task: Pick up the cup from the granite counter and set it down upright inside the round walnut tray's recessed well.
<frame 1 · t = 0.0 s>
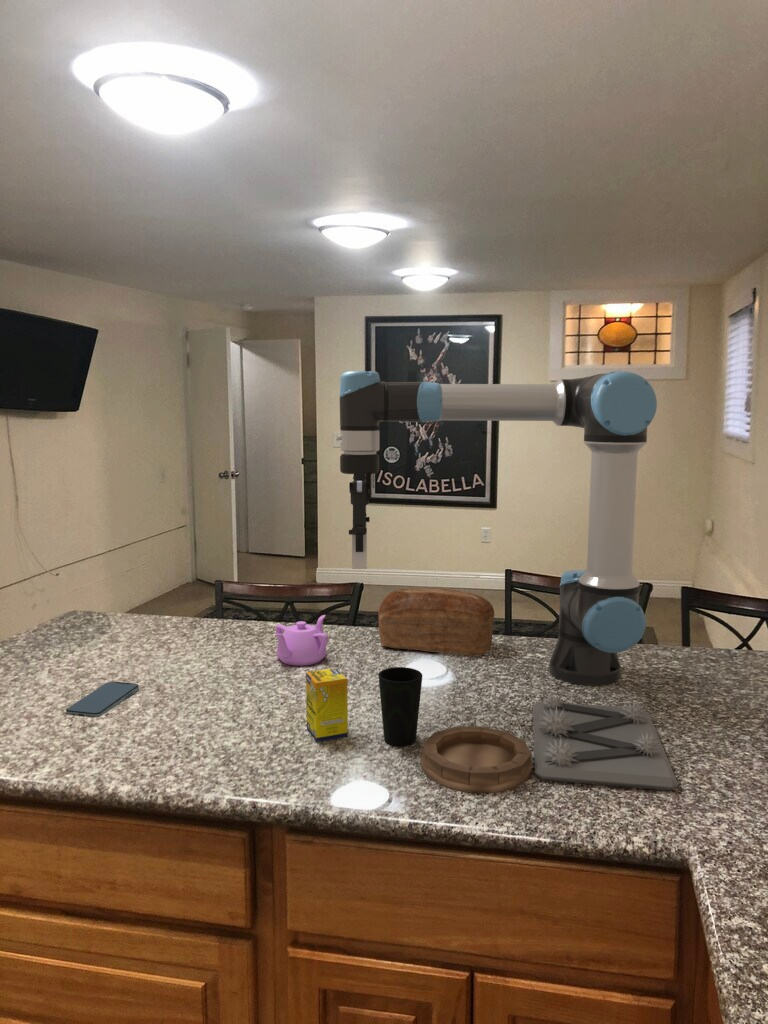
hand: (359, 561, 152), 28 cm above the worktop, fingers open, 13 cm apart
teapot: (301, 660, 179), on the worktop
grey board with spikes: (596, 749, 134), on the worktop
bread: (435, 649, 188), on the worktop
smartphone: (104, 704, 154), on the worktop
cup: (399, 740, 136), on the worktop
round tray: (475, 765, 126), on the worktop
supplement box: (326, 734, 139), on the worktop
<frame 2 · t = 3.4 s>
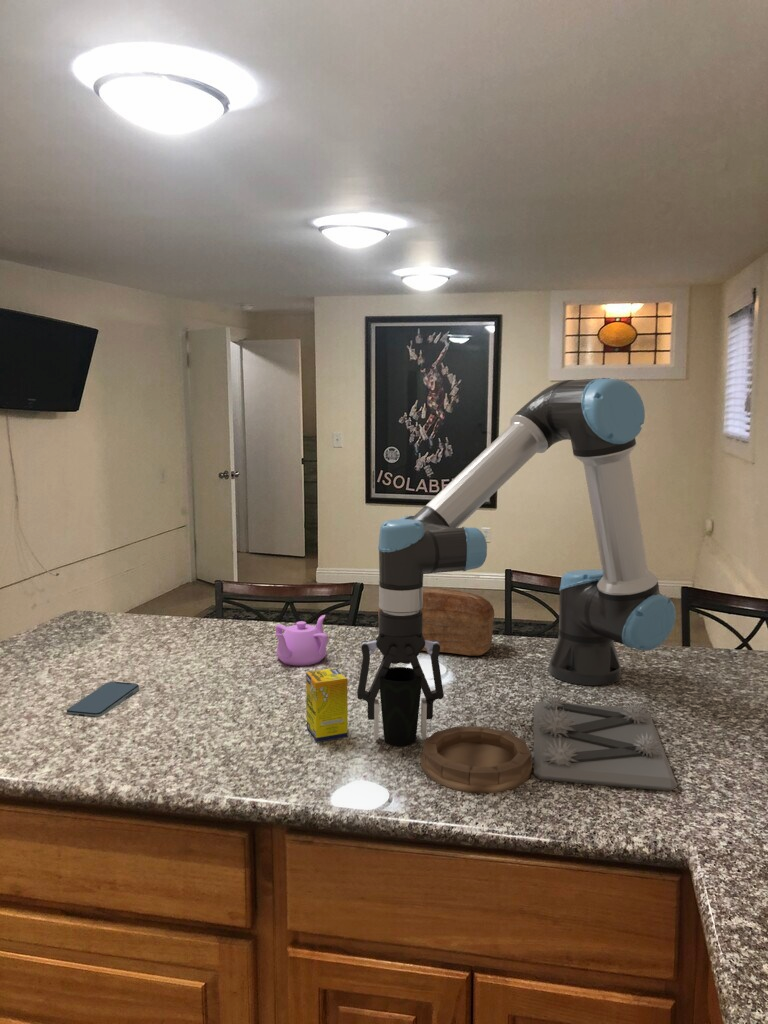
hand: (400, 736, 136), 1 cm above the worktop, fingers closed on cup, 8 cm apart
cup: (399, 740, 136), on the worktop, touching gripper
everything else where it was.
when the fingers open (3 cm above the worktop, at t = 8.4 s): cup drops 1 cm, resting on round tray.
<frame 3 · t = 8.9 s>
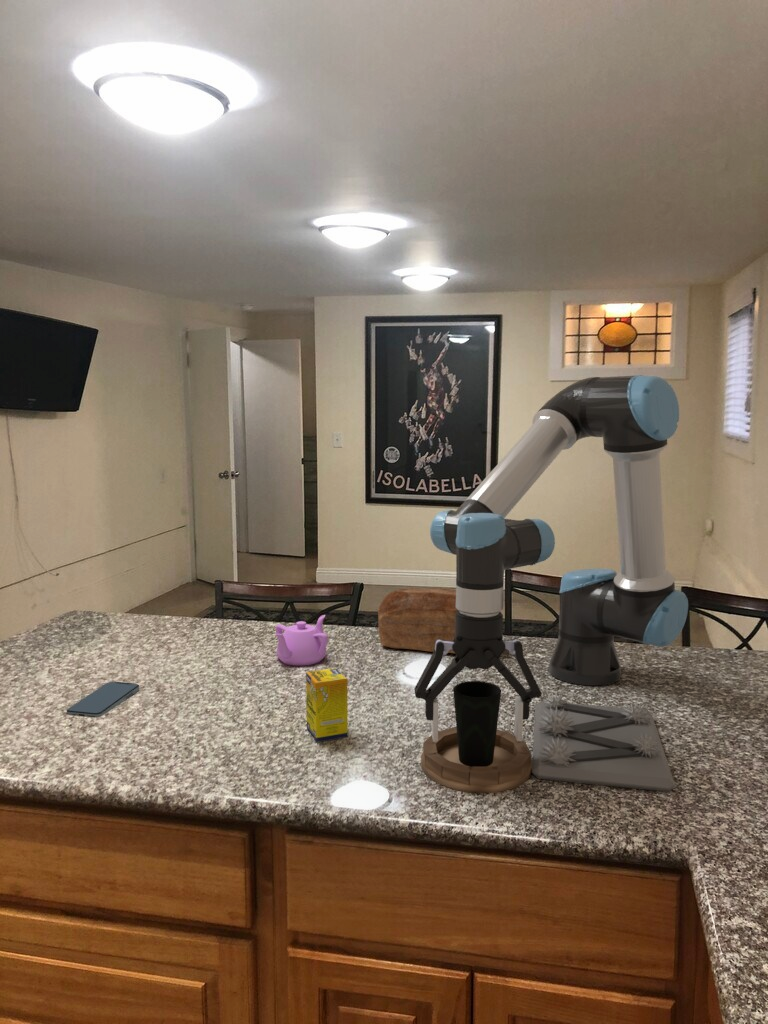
hand: (476, 738, 126), 5 cm above the worktop, fingers open, 13 cm apart
cup: (476, 760, 126), point 1 cm above the worktop, touching round tray
everything else where it was.
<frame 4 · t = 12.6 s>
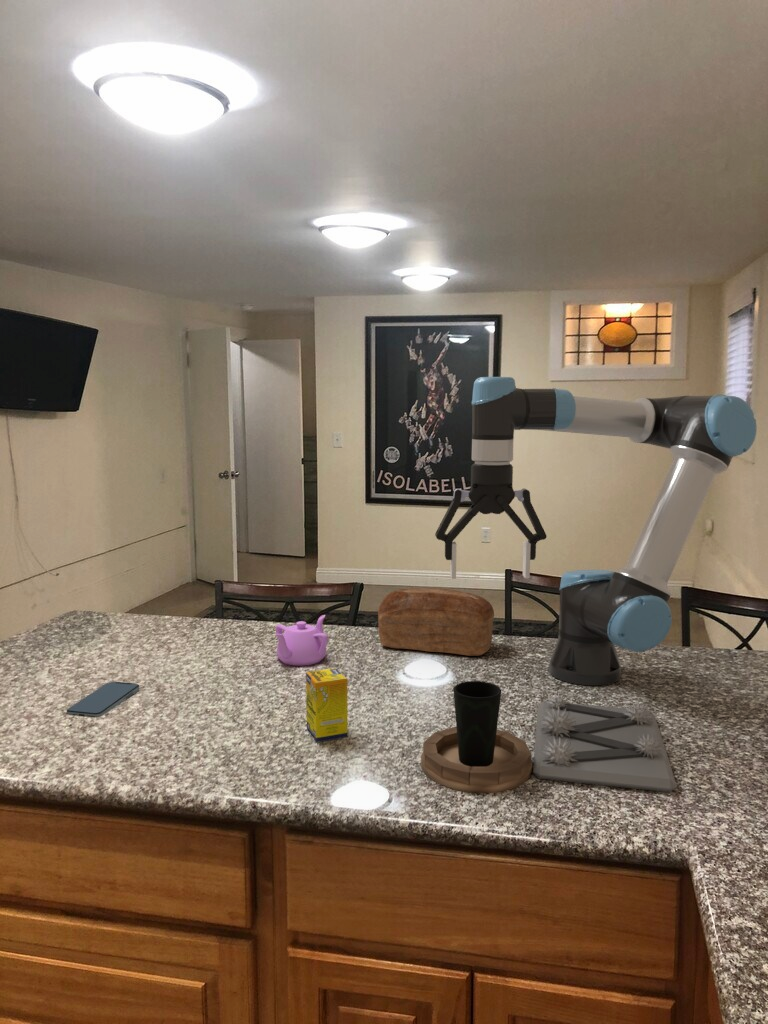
hand: (489, 577, 144), 27 cm above the worktop, fingers open, 13 cm apart
nothing on the worktop moved.
at the end: cup 0.0 cm from the round tray (horizontally); cup tilted 0°; the gripper is holding nothing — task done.
